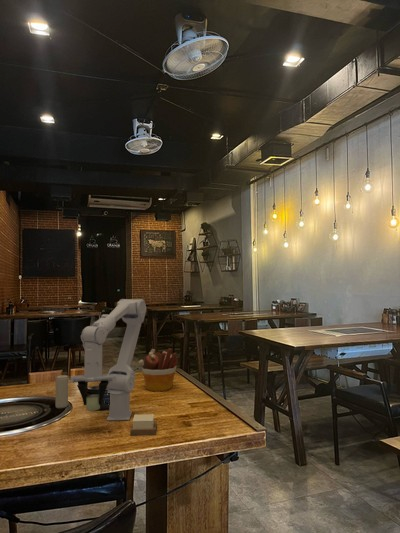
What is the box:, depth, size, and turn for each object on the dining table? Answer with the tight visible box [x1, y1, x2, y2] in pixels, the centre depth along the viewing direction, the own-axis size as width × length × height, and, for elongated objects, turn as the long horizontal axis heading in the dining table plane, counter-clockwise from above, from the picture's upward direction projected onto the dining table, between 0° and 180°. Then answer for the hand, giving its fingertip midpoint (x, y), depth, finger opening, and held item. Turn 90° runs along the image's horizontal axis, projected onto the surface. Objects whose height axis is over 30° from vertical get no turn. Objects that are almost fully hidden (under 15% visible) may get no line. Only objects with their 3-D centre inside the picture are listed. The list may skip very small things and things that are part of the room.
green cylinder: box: [85, 394, 101, 412], centre depth 130 cm, size 4×4×4 cm
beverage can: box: [54, 374, 69, 409], centre depth 158 cm, size 5×5×12 cm
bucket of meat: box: [138, 347, 179, 393], centre depth 186 cm, size 20×16×20 cm
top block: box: [132, 413, 155, 429], centre depth 130 cm, size 6×6×2 cm
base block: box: [129, 420, 158, 437], centre depth 130 cm, size 8×8×2 cm
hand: (93, 404), depth 130 cm, fingers closed on green cylinder, 4 cm apart
